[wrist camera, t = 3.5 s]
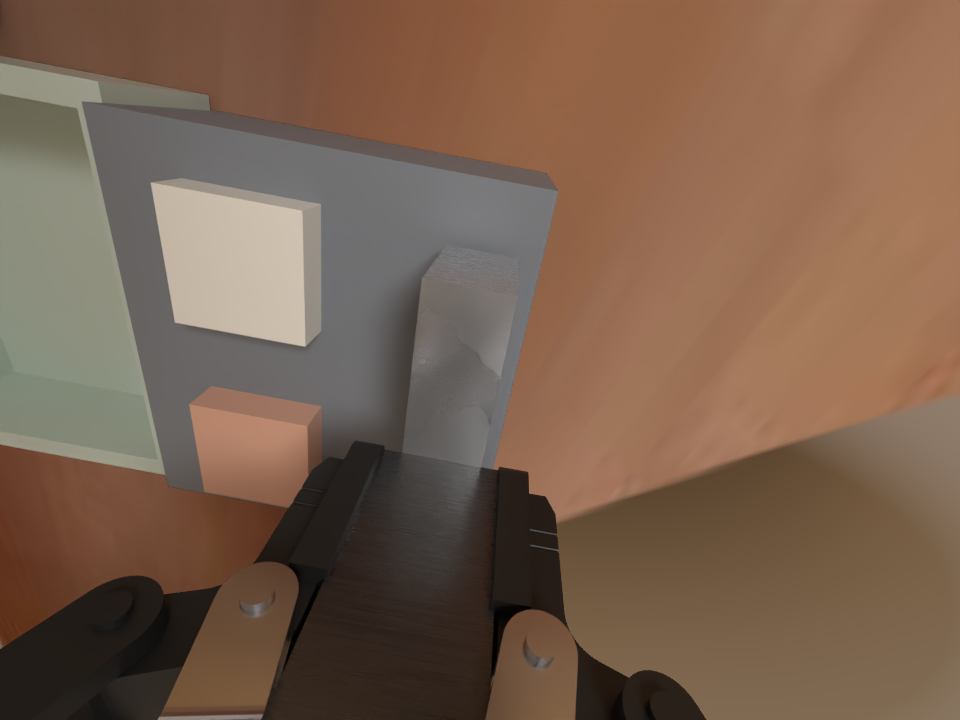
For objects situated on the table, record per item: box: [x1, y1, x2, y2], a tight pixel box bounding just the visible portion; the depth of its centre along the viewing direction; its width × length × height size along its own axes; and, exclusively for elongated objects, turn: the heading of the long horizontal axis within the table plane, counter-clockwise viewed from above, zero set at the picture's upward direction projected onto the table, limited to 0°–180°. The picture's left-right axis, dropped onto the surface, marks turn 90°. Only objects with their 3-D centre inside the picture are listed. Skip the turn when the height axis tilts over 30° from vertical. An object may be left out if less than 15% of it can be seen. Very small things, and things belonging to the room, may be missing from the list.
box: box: [0, 56, 210, 475], centre depth 18 cm, size 15×12×5 cm
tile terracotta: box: [189, 386, 322, 507], centre depth 16 cm, size 4×4×1 cm
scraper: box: [267, 245, 518, 720], centre depth 10 cm, size 12×3×10 cm, turn 171°
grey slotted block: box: [82, 101, 558, 508], centre depth 18 cm, size 14×13×6 cm
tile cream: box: [151, 178, 321, 347], centre depth 13 cm, size 4×4×1 cm
